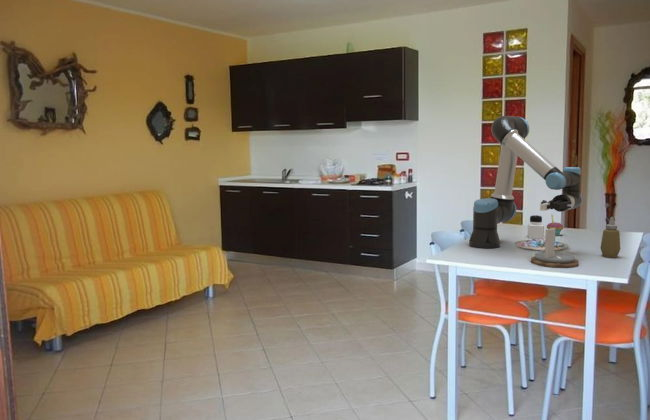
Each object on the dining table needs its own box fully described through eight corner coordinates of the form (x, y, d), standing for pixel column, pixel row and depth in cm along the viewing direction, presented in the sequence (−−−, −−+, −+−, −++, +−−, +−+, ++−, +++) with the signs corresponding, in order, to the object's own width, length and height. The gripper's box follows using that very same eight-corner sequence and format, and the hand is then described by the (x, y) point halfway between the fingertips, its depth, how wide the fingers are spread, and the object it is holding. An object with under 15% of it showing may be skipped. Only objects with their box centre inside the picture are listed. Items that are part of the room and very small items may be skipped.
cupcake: (547, 235, 307) (548, 214, 306) (545, 233, 315) (546, 212, 314) (564, 236, 305) (565, 214, 304) (561, 233, 313) (562, 212, 312)
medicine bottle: (543, 238, 298) (544, 216, 297) (529, 238, 300) (530, 216, 298) (541, 236, 305) (541, 214, 304) (527, 236, 307) (528, 214, 305)
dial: (564, 264, 228) (565, 232, 226) (527, 258, 240) (528, 227, 238) (581, 259, 238) (583, 228, 237) (545, 253, 250) (547, 224, 249)
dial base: (523, 263, 238) (523, 259, 238) (540, 256, 252) (540, 252, 252) (569, 270, 226) (569, 265, 226) (584, 262, 240) (585, 258, 240)
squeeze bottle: (597, 256, 252) (599, 217, 250) (603, 253, 258) (605, 215, 255) (616, 259, 246) (618, 218, 244) (622, 256, 252) (624, 217, 250)
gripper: (577, 212, 247) (557, 217, 230) (548, 209, 256) (526, 214, 239) (578, 195, 247) (558, 199, 229) (548, 193, 255) (527, 197, 238)
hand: (542, 207), depth 234 cm, fingers closed
